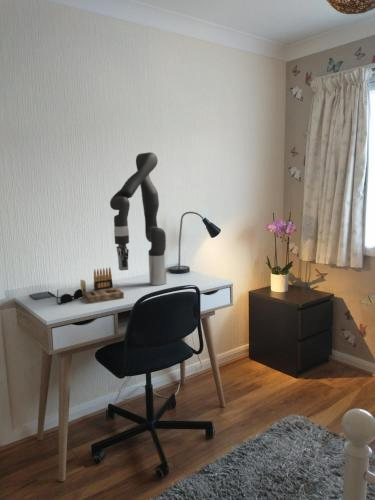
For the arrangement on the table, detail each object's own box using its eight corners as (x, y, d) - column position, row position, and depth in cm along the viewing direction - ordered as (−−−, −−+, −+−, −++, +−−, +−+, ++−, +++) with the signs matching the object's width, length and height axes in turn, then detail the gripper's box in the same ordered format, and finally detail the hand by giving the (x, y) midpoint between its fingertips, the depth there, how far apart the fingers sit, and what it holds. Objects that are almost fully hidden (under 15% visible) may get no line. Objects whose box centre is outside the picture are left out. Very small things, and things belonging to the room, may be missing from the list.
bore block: (117, 293, 220) (116, 287, 219) (123, 298, 209) (123, 292, 209) (83, 297, 212) (83, 292, 212) (88, 303, 201) (88, 297, 201)
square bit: (125, 268, 220) (125, 253, 219) (128, 269, 217) (127, 255, 215) (118, 269, 219) (117, 254, 217) (121, 270, 215) (120, 255, 214)
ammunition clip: (94, 290, 226) (93, 269, 224) (93, 290, 228) (92, 269, 226) (112, 287, 232) (111, 267, 230) (111, 287, 233) (110, 266, 231)
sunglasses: (64, 294, 221) (64, 285, 220) (85, 297, 214) (84, 288, 213) (40, 302, 206) (40, 293, 205) (62, 305, 200) (61, 296, 199)
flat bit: (84, 294, 219) (83, 279, 218) (86, 296, 215) (85, 281, 214) (81, 294, 219) (80, 280, 217) (83, 296, 215) (82, 281, 213)
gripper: (132, 235, 210) (134, 267, 213) (124, 232, 222) (125, 263, 225) (118, 236, 207) (120, 269, 209) (110, 233, 219) (112, 265, 222)
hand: (123, 266), depth 217 cm, fingers closed on square bit, 4 cm apart
